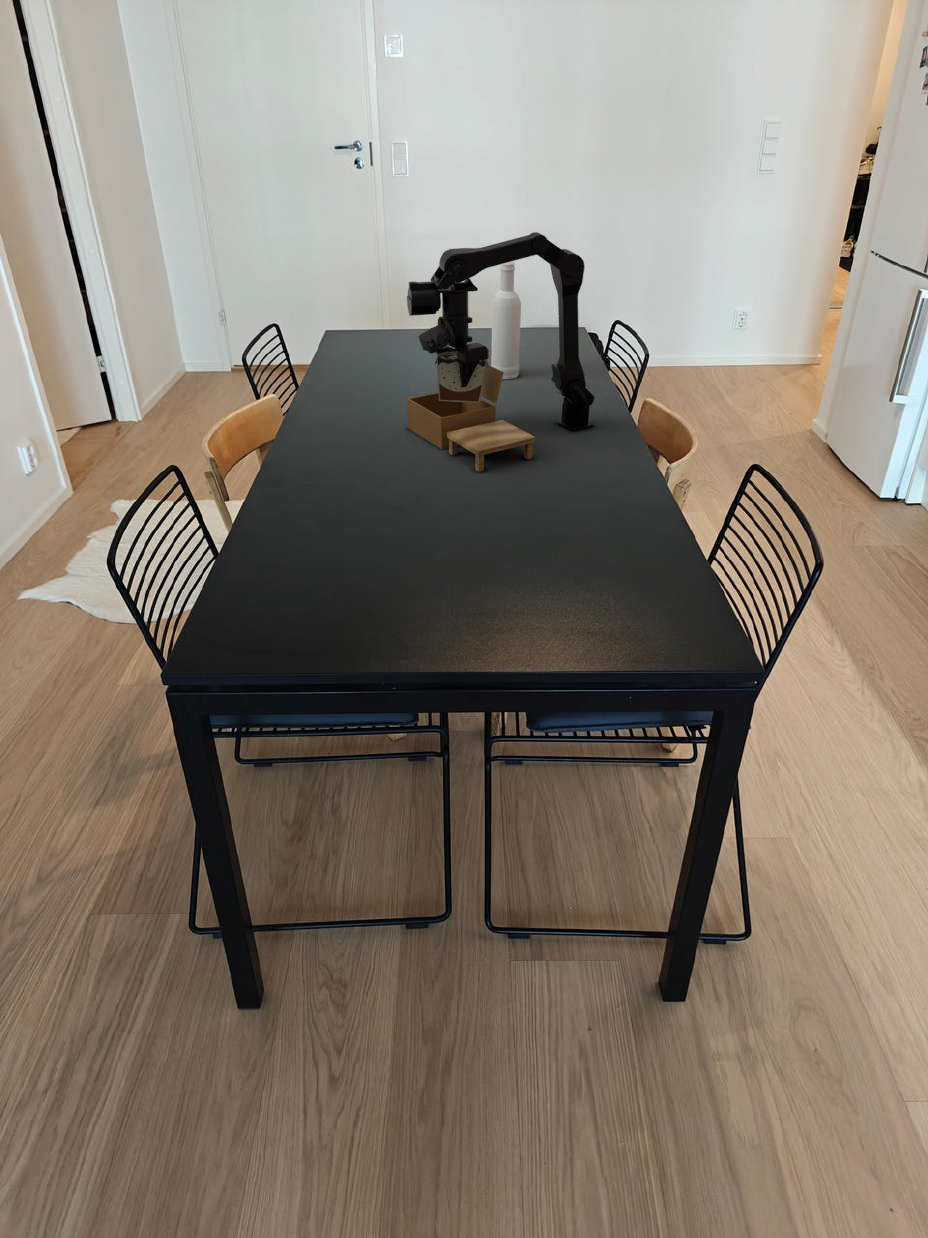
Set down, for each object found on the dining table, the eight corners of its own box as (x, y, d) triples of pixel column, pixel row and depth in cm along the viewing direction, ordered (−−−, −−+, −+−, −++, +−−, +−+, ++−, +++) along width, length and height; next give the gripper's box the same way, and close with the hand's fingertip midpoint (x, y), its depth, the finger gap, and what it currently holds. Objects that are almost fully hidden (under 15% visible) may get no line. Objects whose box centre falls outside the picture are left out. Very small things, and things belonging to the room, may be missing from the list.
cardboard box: (460, 417, 209) (460, 387, 205) (495, 436, 198) (495, 406, 194) (408, 428, 203) (407, 398, 199) (441, 449, 192) (441, 418, 188)
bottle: (516, 380, 234) (520, 265, 217) (488, 378, 235) (490, 264, 218) (520, 371, 240) (524, 259, 224) (493, 370, 242) (495, 258, 225)
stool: (534, 458, 187) (535, 437, 184) (478, 472, 180) (478, 450, 178) (501, 440, 196) (502, 419, 194) (447, 453, 190) (446, 432, 187)
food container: (483, 395, 197) (486, 352, 192) (486, 402, 192) (489, 358, 187) (431, 393, 196) (433, 349, 191) (432, 400, 191) (434, 355, 186)
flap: (459, 385, 205) (460, 385, 205) (495, 403, 194) (496, 403, 194) (466, 355, 202) (467, 355, 202) (502, 371, 191) (504, 371, 191)
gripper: (402, 308, 186) (406, 378, 195) (445, 327, 173) (446, 400, 182) (445, 302, 191) (447, 370, 200) (490, 319, 178) (489, 391, 187)
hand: (456, 383), depth 192 cm, fingers closed on food container, 6 cm apart
